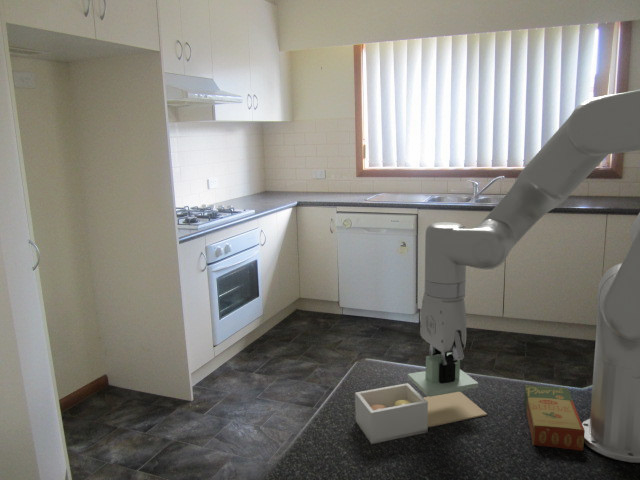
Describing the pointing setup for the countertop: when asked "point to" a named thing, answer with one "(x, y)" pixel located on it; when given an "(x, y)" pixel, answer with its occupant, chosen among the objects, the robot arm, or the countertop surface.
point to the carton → (553, 418)
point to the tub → (391, 413)
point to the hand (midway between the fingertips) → (442, 377)
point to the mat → (451, 409)
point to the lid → (430, 379)
